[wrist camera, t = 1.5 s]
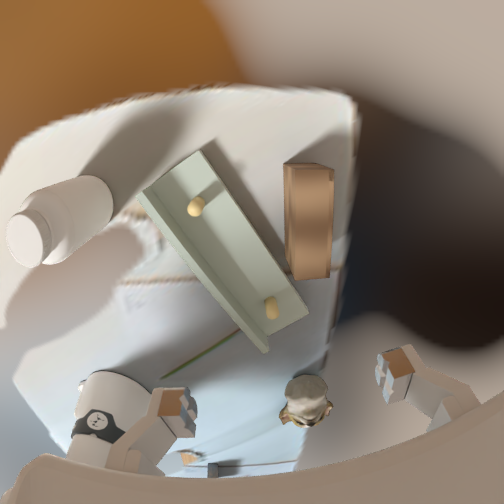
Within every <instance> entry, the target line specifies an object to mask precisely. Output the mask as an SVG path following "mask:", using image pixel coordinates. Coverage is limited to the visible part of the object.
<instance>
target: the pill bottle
mask: <svg viewBox="0 0 504 504" xmlns="http://www.w3.org/2000/svg"><path fill="white" fill-rule="evenodd" d="M112 213H113V198H112V194H111V192H110V190H109V188H108V186H107V185H106V184H105V183H104V182H103V181H102V180H101V179H99V178H97V177H95V176H91V175H83V176H79V177H76V178H72V179H69V180H66V181H63V182H60V183H57V184H54V185H51V186H48V187H45V188H42V189H40V190H37V191H35V192H33V193H31V194H30V195H29V196H28V197H27V198H26V199H25V200H24V202H23V203H22V205H21V207H20V210H19V213H16V214H15V215H13V216H12V217H11V218H10V220H9V222H8V225H7V229H6V240H7V245H8V248H9V250H10V252H11V254H12V256H13V257H14V258H15V260H16V261H17V262H18V263H20V264H21V265H23V266H25V267H30V268H33V267H36V266H38V265H39V264H40V263H43V264H56V263H59V262H62V261H63V260H65V259H66V258H67V257H68V256H69V255H71V254H72V253H73V252H75V250H77V249H78V248H79V247H81V246H82V245H83V244H84V243H86V242H87V241H88V240H89V239H91V238H92V237H93V236H94V235H96V234H97V233H98V232H100V231H101V230H102V229H103V228H104V227H105V226H106V225H107V224H108V222H109V221H110V219H111V216H112Z"/></svg>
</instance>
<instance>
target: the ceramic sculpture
mask: <svg viewBox="0 0 504 504" xmlns="http://www.w3.org/2000/svg"><path fill="white" fill-rule="evenodd" d="M327 389H328V387H327V385H326V383H325V382H324V380H323V379H321V378H320V377H318V376H316V375H305V374H304V375H300V376H298V377H297V378H294V379H292V380H290V381H289V383H288V384H287V386H286V389H285V397H286V399H287V400H288V404H287V405H286V406H285V407H284V408H283V409H282V410H281V411H280V414H279V418H280V419H281V421H282V423H283V425H284V424H285V423H287V422H288V421H293V423H294V424H295V425H296V426H298V427H301V428H307V427H312V426H315V425H318V424H319V423H320V422H321V421H322V420H323V419H324V415H326V416H329V412H330V410H331V409H332V408H333V405H332V403H331V402H330V401H328V400H327V398H326V392H327Z"/></svg>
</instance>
